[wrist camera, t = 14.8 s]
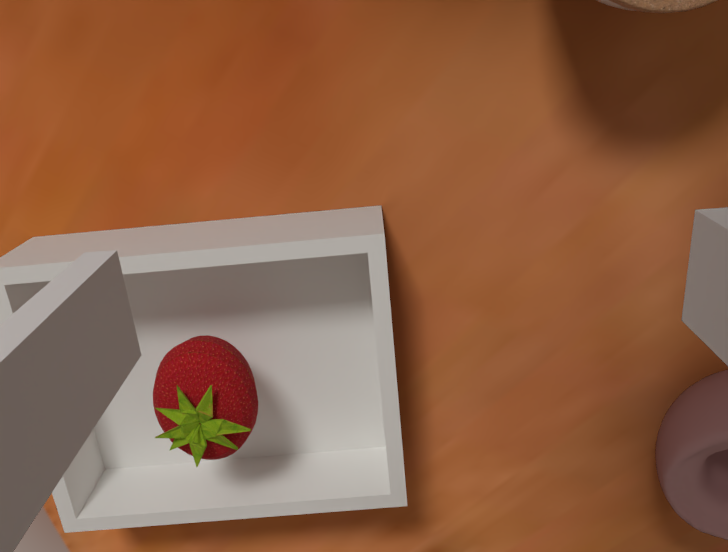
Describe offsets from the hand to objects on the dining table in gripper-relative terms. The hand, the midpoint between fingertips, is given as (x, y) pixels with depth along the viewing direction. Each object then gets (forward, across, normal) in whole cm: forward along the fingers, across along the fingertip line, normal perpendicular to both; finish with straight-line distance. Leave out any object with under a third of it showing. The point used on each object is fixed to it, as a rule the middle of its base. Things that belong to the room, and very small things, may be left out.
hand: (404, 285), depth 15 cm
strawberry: (+24, -11, -14) cm, 30 cm away
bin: (+25, -11, -14) cm, 31 cm away
